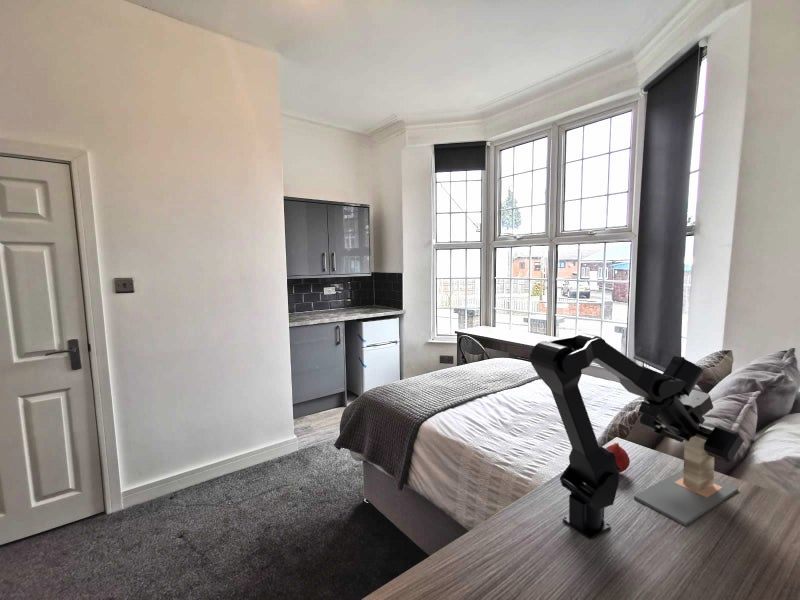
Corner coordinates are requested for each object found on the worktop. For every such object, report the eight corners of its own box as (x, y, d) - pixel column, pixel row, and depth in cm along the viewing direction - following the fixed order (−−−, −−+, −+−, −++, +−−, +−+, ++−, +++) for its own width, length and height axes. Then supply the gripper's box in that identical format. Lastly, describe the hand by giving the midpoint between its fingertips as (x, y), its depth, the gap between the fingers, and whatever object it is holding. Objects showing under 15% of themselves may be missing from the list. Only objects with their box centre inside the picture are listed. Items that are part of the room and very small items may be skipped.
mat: (685, 525, 73) (685, 522, 73) (633, 498, 82) (633, 495, 82) (738, 490, 83) (738, 487, 83) (687, 469, 92) (687, 467, 92)
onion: (597, 470, 93) (597, 440, 92) (612, 464, 96) (612, 434, 95) (619, 482, 88) (619, 450, 87) (634, 475, 90) (635, 444, 90)
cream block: (698, 491, 82) (700, 435, 81) (683, 483, 85) (684, 429, 84) (713, 486, 84) (715, 431, 83) (698, 478, 87) (700, 425, 86)
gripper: (739, 394, 72) (772, 438, 77) (649, 370, 90) (679, 407, 94) (710, 441, 71) (745, 482, 75) (623, 406, 88) (656, 442, 93)
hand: (703, 449), depth 84 cm, fingers open, 9 cm apart
